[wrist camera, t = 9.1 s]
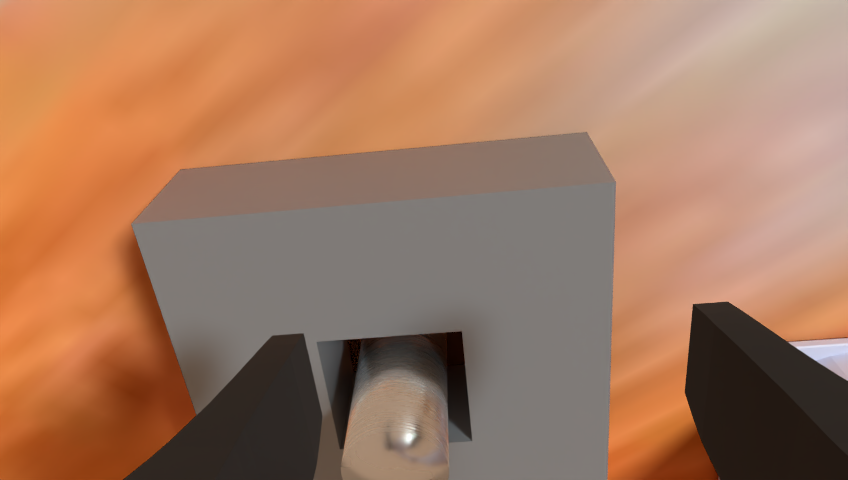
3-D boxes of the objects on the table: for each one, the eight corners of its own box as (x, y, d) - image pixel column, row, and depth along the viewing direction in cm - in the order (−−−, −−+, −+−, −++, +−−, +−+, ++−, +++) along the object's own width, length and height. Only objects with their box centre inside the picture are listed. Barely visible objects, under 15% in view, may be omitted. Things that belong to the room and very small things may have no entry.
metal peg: (443, 288, 24) (445, 429, 18) (448, 355, 26) (452, 507, 19) (359, 293, 24) (333, 434, 18) (369, 359, 26) (348, 512, 20)
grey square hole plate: (586, 132, 21) (615, 181, 18) (584, 443, 27) (606, 526, 24) (180, 169, 22) (131, 224, 19) (265, 462, 28) (240, 545, 25)
